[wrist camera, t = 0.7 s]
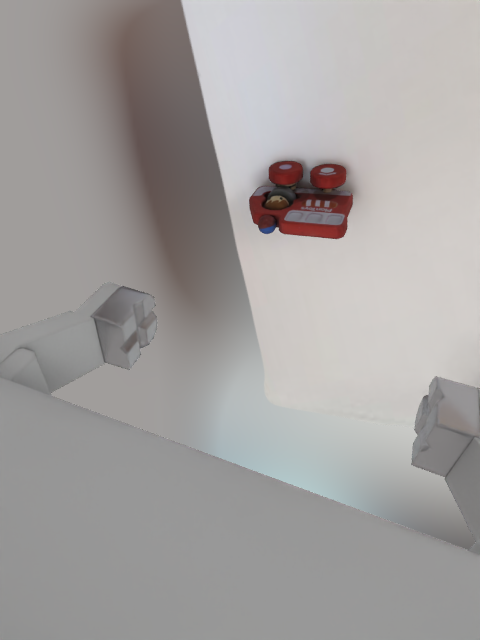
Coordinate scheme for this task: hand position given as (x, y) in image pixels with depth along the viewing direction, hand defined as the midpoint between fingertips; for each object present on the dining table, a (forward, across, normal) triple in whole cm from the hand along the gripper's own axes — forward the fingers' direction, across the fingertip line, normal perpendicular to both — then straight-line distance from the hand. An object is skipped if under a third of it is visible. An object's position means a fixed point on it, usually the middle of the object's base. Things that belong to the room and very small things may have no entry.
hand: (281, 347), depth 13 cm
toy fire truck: (+43, +8, +15) cm, 46 cm away
